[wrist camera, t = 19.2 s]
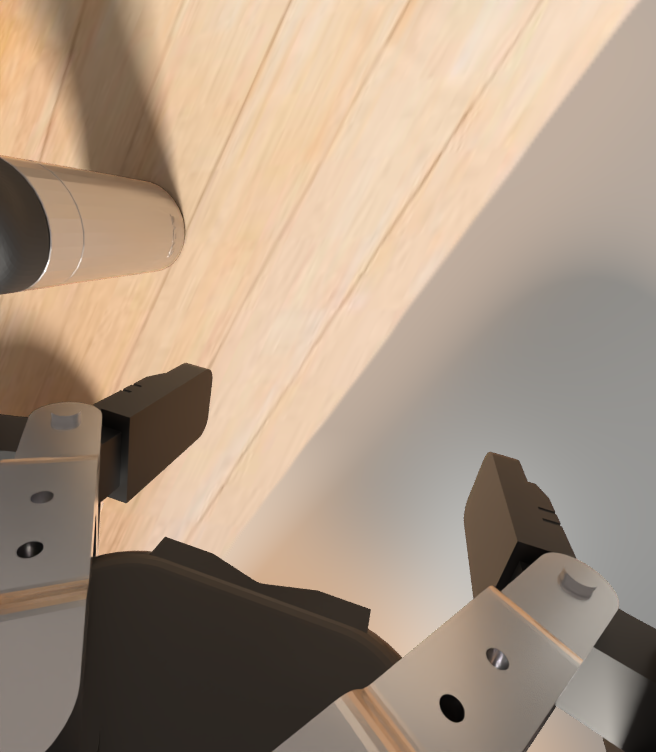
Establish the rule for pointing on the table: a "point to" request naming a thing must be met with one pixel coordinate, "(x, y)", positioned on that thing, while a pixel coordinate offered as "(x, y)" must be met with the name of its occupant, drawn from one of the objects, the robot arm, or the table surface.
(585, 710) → the robot arm
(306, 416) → the table surface
